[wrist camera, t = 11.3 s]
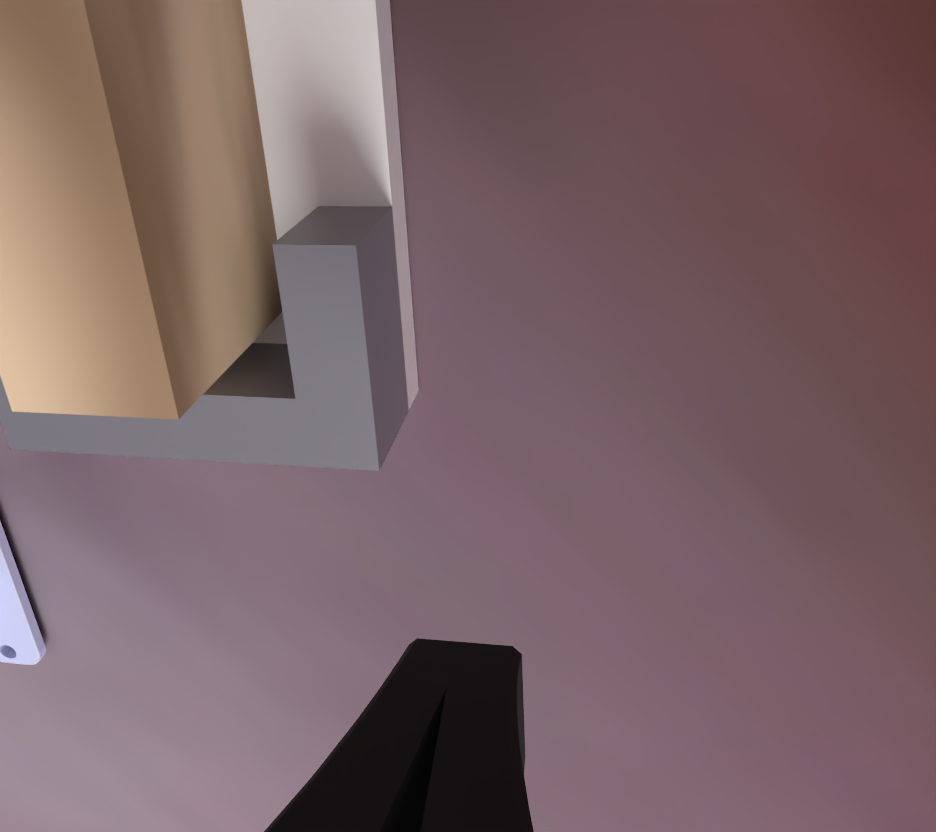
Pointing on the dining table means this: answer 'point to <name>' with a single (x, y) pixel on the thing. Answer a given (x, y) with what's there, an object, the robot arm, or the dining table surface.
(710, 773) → the dining table surface
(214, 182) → the oak slat
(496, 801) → the robot arm
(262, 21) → the cradle
